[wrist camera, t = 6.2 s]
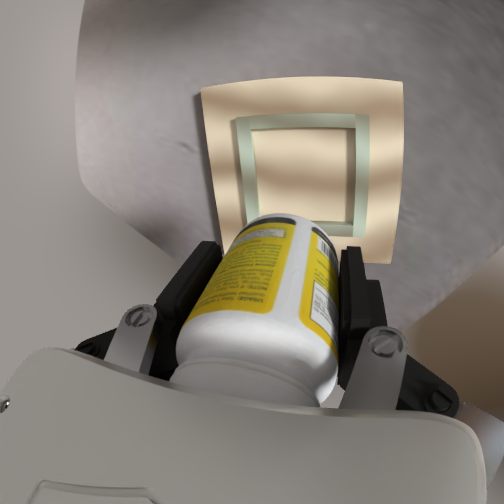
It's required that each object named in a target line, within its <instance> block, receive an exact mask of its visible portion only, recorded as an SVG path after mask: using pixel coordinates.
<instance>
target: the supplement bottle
mask: <svg viewBox="0 0 504 504" xmlns="http://www.w3.org/2000/svg"><path fill="white" fill-rule="evenodd" d="M338 355H339V272H338V257H337V252H336V249H335V247H334V244H333V242H332V241H331V239H330V237H329V236H328V235H327V234H326V232H325V231H324V230H323V229H322V228H320V227H319V226H318V225H316V224H315V223H313V222H312V221H310V220H308V219H306V218H303V217H300V216H296V215H292V214H285V213H274V214H268V215H264V216H261V217H258V218H256V219H254V220H253V221H251V222H250V223H248V224H247V225H246V226H245V227H244V228H243V229H242V230H241V231H240V232H239V233H238V235H237V236H236V238H235V239H234V241H233V243H232V244H231V246H230V248H229V249H228V251H227V253H226V254H225V256H224V258H223V259H222V261H221V263H220V264H219V266H218V268H217V269H216V271H215V273H214V274H213V276H212V278H211V279H210V281H209V283H208V284H207V286H206V288H205V289H204V291H203V293H202V295H201V296H200V298H199V300H198V301H197V303H196V305H195V307H194V308H193V310H192V311H191V313H190V315H189V317H188V318H187V320H186V322H185V323H184V325H183V327H182V329H181V331H180V334H179V336H178V339H177V343H176V358H177V361H178V364H179V366H178V367H177V368H176V370H175V372H174V374H173V375H172V377H171V378H170V381H169V382H173V383H177V384H180V385H184V386H188V387H192V388H196V389H201V390H205V391H210V392H214V393H219V394H224V395H229V396H234V397H240V398H245V399H251V400H258V401H264V402H271V403H279V404H287V405H296V406H307V407H319V408H320V403H322V402H323V401H324V400H325V399H326V398H327V397H328V396H329V394H330V393H331V391H332V389H333V388H334V385H335V382H336V378H337V373H338Z"/></svg>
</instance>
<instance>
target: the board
mask: <svg viewBox="0 0 504 504" xmlns="http://www.w3.org/2000/svg"><path fill="white" fill-rule="evenodd" d="M200 91H201V99H202V107H203V115H204V122H205V130H206V137H207V144H208V151H209V158H210V165H211V172H212V179H213V186H214V192H215V199H216V205H217V211H218V218H219V224H220V230H221V236H222V242H223V248H224V254H226V253H227V251H228V249H229V248H230V246H231V244H232V243H233V241H234V239H235V238H236V236H237V235H238V233H239V232H240V231H241V230H242V229H243V228H244V227H245V226H246V225H247V224H248V223H250V222H251V221H253V220H254V219H256V218H258V217H261V216H264V215H268V214H274V213H285V214H292V215H296V216H300V217H303V218H306V219H308V220H310V221H312V222H313V223H315V224H316V225H318V226H319V227H320V228H322V229H323V230H324V231H325V232H326V234H327V235H328V236H329V237H330V239H331V241H332V242H333V244H334V247H335V249H336V252H337V257H338V261H340V260H341V249H344V250H346V248H347V246H360V247H361V251H362V257H363V262H365V263H389V264H390V263H391V258H392V252H393V246H394V240H395V233H396V226H397V219H398V211H399V202H400V192H401V181H402V166H403V143H404V108H403V85H402V82H398V81H389V80H380V79H369V78H353V77H289V78H274V79H262V80H252V81H244V82H236V83H229V84H222V85H216V86H210V87H205V88H200Z"/></svg>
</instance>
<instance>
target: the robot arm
mask: <svg viewBox="0 0 504 504" xmlns="http://www.w3.org/2000/svg"><path fill="white" fill-rule="evenodd" d="M222 259H223V257H222V252H221V247H220V245H217V244H216V242H215V241H202V242H201V243H200V244H199V245H198V246H197V248H196V249H195V250H194V251H193V253H192V254H191V255H190V256H189V258H188V259H187V260H186V261H185V263H184V264H183V265H182V267H181V268H180V269H179V270H178V272H177V273H176V274H175V276H174V277H173V278H172V279H171V281H170V282H169V283H168V285H167V286H166V287H165V289H164V290H163V291H162V293H161V294H160V295H159V297H158V298H157V299H156V301H157V302H156V303H155V304H154V306H152V305H149V304H142V305H137V306H134V307H132V308H131V309H129V310H128V311H127V312H126V313H125V314H124V315H123V317H122V319H121V321H120V323H119V326H118V328H115V329H113V330H110V331H108V332H105V333H102V334H100V335H97V336H95V337H92V338H89V339H87V340H85V341H83V342H81V343H80V344H79V345H78V346H77V347H76V349H74V348H72V349H64V348H44V349H39V350H37V351H34V352H33V353H32V354H30V355H29V356H28V357H27V358H26V359H25V361H23V363H22V364H21V365H20V366H19V367H18V368H17V370H16V371H15V372H14V374H13V375H12V376H11V377H10V379H9V380H8V381H7V383H6V384H5V386H4V387H3V389H2V390H1V391H0V504H486V501H487V500H486V499H487V496H486V495H487V493H486V491H487V489H488V487H489V485H490V484H491V482H492V479H493V478H494V475H495V473H496V471H497V469H498V467H499V465H500V463H501V460H502V458H503V456H504V423H503V422H502V421H500V420H498V419H497V418H495V417H493V416H491V415H489V414H487V413H486V412H484V411H482V410H481V409H479V408H477V407H475V406H473V405H472V404H470V403H468V402H465V404H463V403H461V402H459V397H458V395H457V393H456V391H455V390H454V389H453V388H452V387H451V386H450V385H448V384H447V383H446V382H444V381H443V380H442V379H440V378H439V377H438V376H436V375H435V374H434V373H432V372H431V371H429V370H428V369H427V368H425V367H424V366H423V365H421V364H420V363H419V362H417V361H416V360H415V359H413V358H412V357H410V356H409V355H408V354H407V349H408V345H407V344H408V343H407V340H406V338H405V336H404V335H403V334H402V333H401V332H400V331H398V330H397V329H395V328H392V327H388V326H387V320H386V313H385V308H384V302H383V297H382V291H381V286H380V282H379V280H366V276H365V269H364V263H363V257H362V251H361V247H360V246H347V248H346V250H344V249H341V260H340V272H339V355H338V373H337V377H338V383H337V384H338V385H340V387H342V389H344V390H345V393H344V396H343V398H342V401H341V403H340V405H339V408H338V409H335V408H319V407H307V406H296V405H287V404H279V403H271V402H264V401H258V400H251V399H245V398H240V397H234V396H229V395H224V394H219V393H214V392H210V391H205V390H201V389H196V388H192V387H188V386H184V385H180V384H177V383H173V382H169V381H170V378H171V377H172V375H173V374H174V372H175V370H176V368H177V367H178V366H179V364H178V361H177V358H176V343H177V339H178V336H179V334H180V331H181V329H182V327H183V325H184V323H185V322H186V320H187V318H188V317H189V315H190V313H191V311H192V310H193V308H194V307H195V305H196V303H197V301H198V300H199V298H200V296H201V295H202V293H203V291H204V289H205V288H206V286H207V284H208V283H209V281H210V279H211V278H212V276H213V274H214V273H215V271H216V269H217V268H218V266H219V264H220V263H221V261H222Z"/></svg>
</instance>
